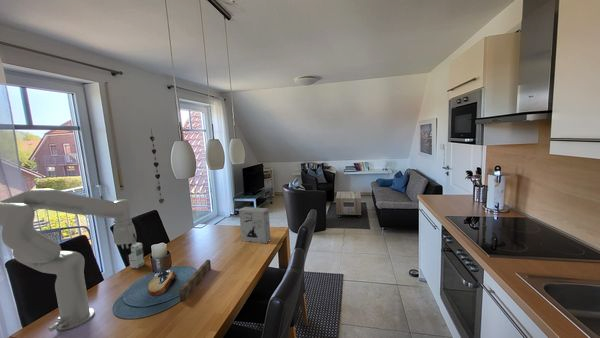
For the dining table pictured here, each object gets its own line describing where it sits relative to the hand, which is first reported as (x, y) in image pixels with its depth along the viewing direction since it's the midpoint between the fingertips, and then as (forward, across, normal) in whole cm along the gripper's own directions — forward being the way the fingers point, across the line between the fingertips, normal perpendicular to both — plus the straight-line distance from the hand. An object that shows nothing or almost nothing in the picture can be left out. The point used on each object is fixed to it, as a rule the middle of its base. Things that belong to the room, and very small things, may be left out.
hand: (128, 254), depth 136 cm
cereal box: (+17, +56, +57) cm, 82 cm away
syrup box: (+17, -12, +20) cm, 29 cm away
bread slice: (+18, +18, 0) cm, 25 cm away
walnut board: (+17, +38, 0) cm, 42 cm away
